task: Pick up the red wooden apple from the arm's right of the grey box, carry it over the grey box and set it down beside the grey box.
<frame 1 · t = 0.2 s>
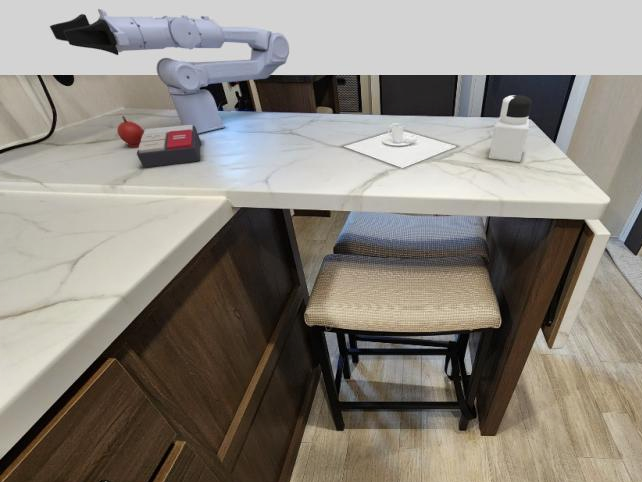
hand: (59, 35, 65), 21 cm above the countertop, tool horizontal, fingers open, 7 cm apart
medicine bottle: (505, 156, 77), on the countertop
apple: (137, 145, 80), on the countertop
teacup and saucer: (400, 147, 82), on the countertop
grey box: (175, 154, 76), on the countertop
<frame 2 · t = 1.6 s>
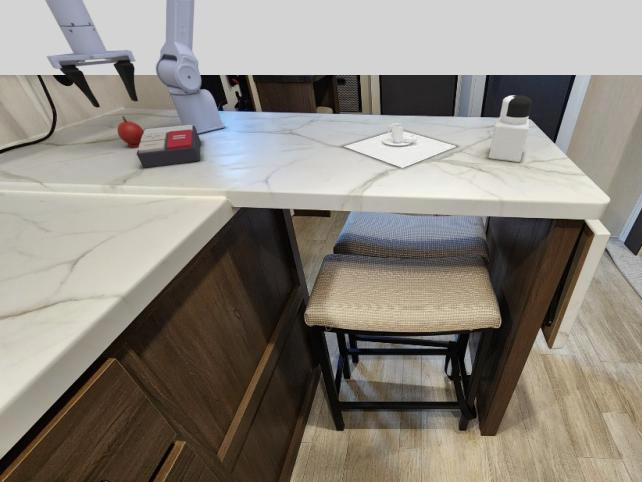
hand: (116, 103, 74), 9 cm above the countertop, tool pointing down, fingers open, 7 cm apart
nothing on the countertop moved.
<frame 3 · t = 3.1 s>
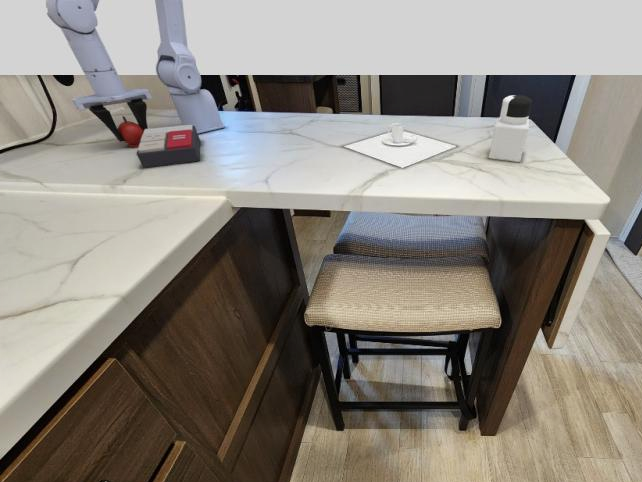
hand: (134, 138, 79), 2 cm above the countertop, tool pointing down, fingers closed on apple, 5 cm apart
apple: (137, 145, 80), on the countertop, touching gripper
everything else where it was.
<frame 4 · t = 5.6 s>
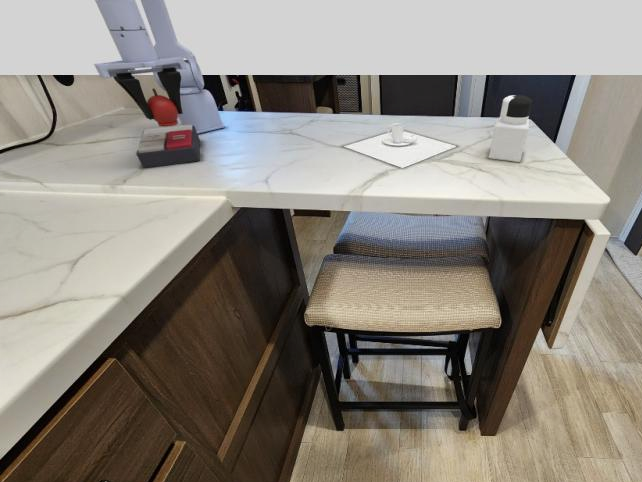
hand: (164, 115, 67), 9 cm above the countertop, tool pointing down, fingers closed on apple, 5 cm apart
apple: (168, 124, 68), point 7 cm above the countertop, touching gripper
everything else where it was.
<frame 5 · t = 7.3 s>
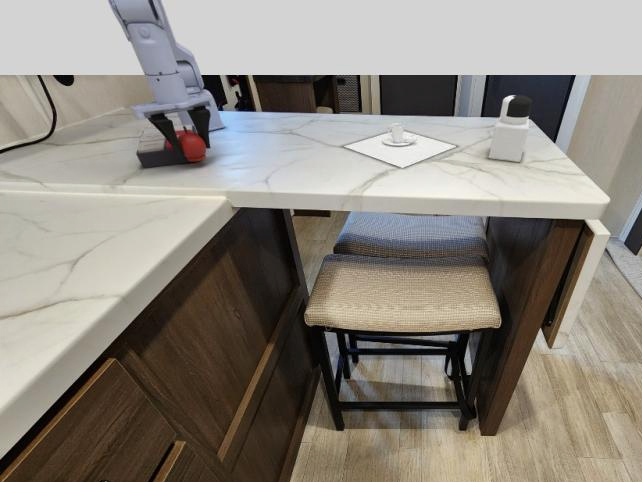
hand: (193, 150, 69), 3 cm above the countertop, tool pointing down, fingers closed on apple, 5 cm apart
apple: (197, 158, 70), point 1 cm above the countertop, touching gripper
everything else where it was.
when the fingers open (2 cm above the countertop, at t = 8.3 s): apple stays where it is, on the countertop.
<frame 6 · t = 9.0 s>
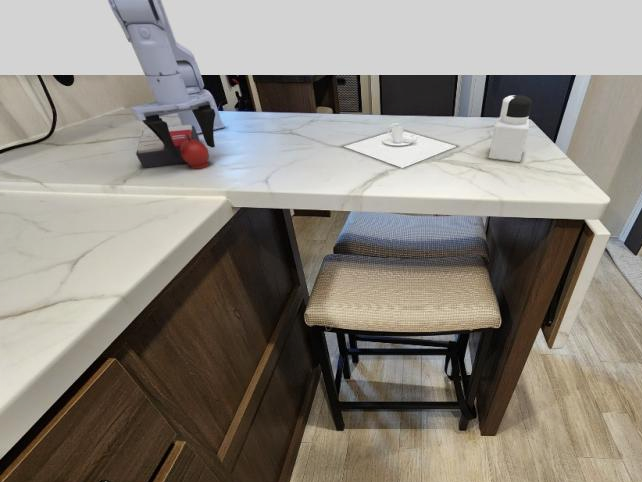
hand: (193, 151, 69), 3 cm above the countertop, tool pointing down, fingers open, 7 cm apart
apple: (199, 165, 71), on the countertop
everything else where it was.
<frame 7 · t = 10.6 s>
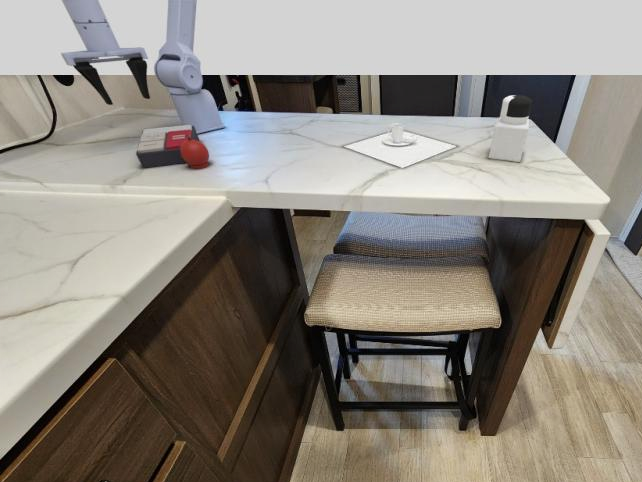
hand: (128, 101, 74), 9 cm above the countertop, tool pointing down, fingers open, 7 cm apart
nothing on the countertop moved.
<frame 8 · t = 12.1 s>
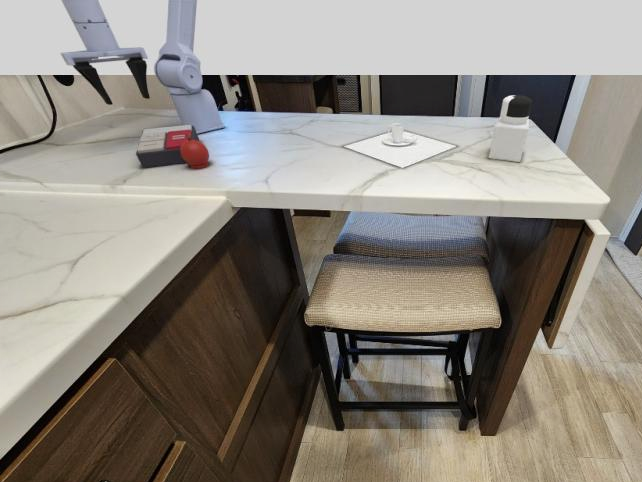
hand: (128, 100, 74), 9 cm above the countertop, tool pointing down, fingers open, 7 cm apart
nothing on the countertop moved.
at the end: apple inside the target area (0.2 cm from its centre), on the countertop; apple touching countertop; grey box moved 0.3 cm from its start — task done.
